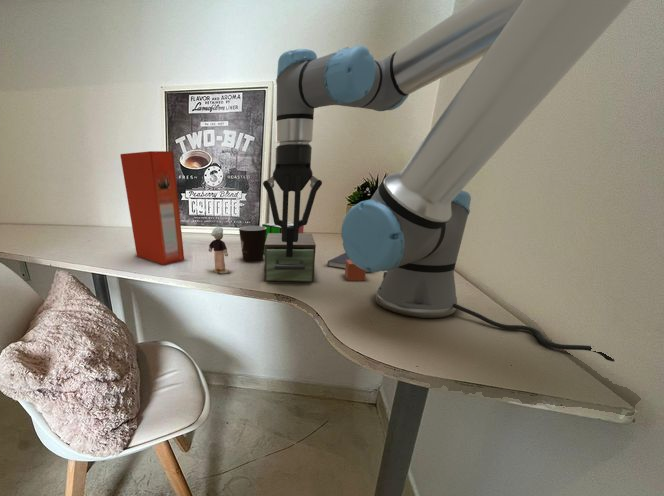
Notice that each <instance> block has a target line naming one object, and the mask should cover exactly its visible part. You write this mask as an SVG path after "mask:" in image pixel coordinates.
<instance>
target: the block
mask: <svg viewBox="0 0 664 496" xmlns="http://www.w3.org/2000/svg"><path fill="white" fill-rule="evenodd" d="M366 274H367V273H366V271H365V270H363V269H361V268H359V267H357V266H356V265H355V264H354V263H353V262H352V261H351V260H346V266H345V269H344V278H345V279H346V281H357V282H359V281H361V282H363V281H365V279H366Z"/></svg>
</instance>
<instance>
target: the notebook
mask: <svg viewBox="0 0 664 496" xmlns="http://www.w3.org/2000/svg"><path fill="white" fill-rule="evenodd" d="M346 260H350V259H349V258H348V256H347V254H346V252H343V253H342V254H340V255H338V256H335V257H333V258H331V259H329V260H327V267H332V268H338V269H342V270H343V269H344V270H345V266H346ZM367 273H368V274H371V273H372V272H369V271H366V273H365V274H367Z"/></svg>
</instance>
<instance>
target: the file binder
mask: <svg viewBox="0 0 664 496" xmlns="http://www.w3.org/2000/svg"><path fill="white" fill-rule="evenodd" d="M119 156H120V161H121V168H122V173H123V174H122V175H123V180H124V186H125V191H126V198H127V199H126V200H127V204H128V210H129V211H128V212H129V216H130V223H131V229H132V235H133V241H134V247H135V253H136V256H137V257H138V258H142V259H145V260H147V261H151V262H153V263H156V264H159V265H163V266H166V265H167V266H168V265H170V264H174V263H175V264H176V263H178V262H183V261H184V260H185V254H184V243H183V242H184V241H183V235H182V225H181V215H180V206H179V195H178V187H177V177H176V167H175V166H176V165H175V158H174V151H173V150H171V151H169V150H168V151H167V150H166V151H165V150H161V151H160V150H159V151H156V150H152V151H151V150H150V151H142V152H141V151H139V152H127V153H121V154H119Z"/></svg>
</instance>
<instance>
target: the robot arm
mask: <svg viewBox="0 0 664 496" xmlns="http://www.w3.org/2000/svg"><path fill="white" fill-rule="evenodd" d="M632 2H633V0H472V1H471V2H469V3H468V4H467V5H464V6H463V7H462V8H460V9H459V10H457V11H456V12H454V13H452V14H451V15H449V16H448V17H447V18H445V19H443V20H442V21H440V22H438V23H437V24H436V25H434V26H433V27H431V28H430V29H428V30H427V31H425V32H424V33H422V34H420V35H419V36H417V37H416V38H414V39H413V40H412V41H410V42H408V43H407V44H404V46H402V47H401V48H399V49H397V50H396V51H395V52H393V53H391V54H389V55H388V56H386V57H385V58H383V59H381V60H375V58H374V56H373V54H371V53H370V50H369V48H368V47H366V46H363V45H356V46H351V47H343V48H342V49H339V50H337V51H334V52H332V53H329V54H326V55H324V56H321V57H318V56H317V55H318V54H317V53H316V52H315V51H314V50H311V49H308V48H296V49H293V50H292V49H290V50H287V51H285V52H282V53H281V55H280V56H279V58H278V61H277V72H276V73H277V74H276V79H275V83H276V118H275V120H276V121H275V142H276V143H277V144H278V145H277V146H276V147H275V155H274V156H275V160H274V170H273V172H272V176H271V177H269V178H268V179H265V180H264V181H263V182H262V185H263V187H264V189H265V191H266V192H267V197H268V201H269V207H270V210H271V215H272V220H273V223H274V224H275V225H278V226H280V227H281V228H282V242H287V243H286V257H292V255H293V242H297V241H298V233H299V228H300V227H301V226H303V225H304V226H307V224H308V222H309V218H310V215H311V212H312V208H313V205H314V201H315V198H316V195H317V192H318V190H319V189H320V188H321V186H322V185H323V181H322V180H321V179H319V178H317V177H315V176H314V175H313V174H314V173H313V170H312V166H311V165H312V150H313V149H312V148H313V147H312V146H311V144H310V143H311V142H312V141H313V131H314V118H315V117H314V115H315V114H314V113H315V109H319V108H322V107H323V108H324V107H328V106H329V107H330V106H341V107H349V108H358V109H366V110H372V111H376V112H385V111H393V110H396V109H398V108H400V107H401V106H402V104H404V103H405V102H406V100H407V99H408V97H409V95H410V94H413V93H415V92H416V91H418V90H420V89H422V88H424V87H426V86H428V85H430V84H432V83H434V82H436V81H438V80H439V79H443V78H444V77H446V76H448V75H449V74H452V73H454V72H455V71H458V70H459V69H461V68H463V67H465V66H467V65H469V64H471V63H473V62H474V61H476V60H479V59H480V58H481V59H480V61H478V63H477V65H476V66H475V67H474V69H473V70H472V71H471V73H470V75H469V76H468V78H467V79H466V80H465V81H464V83H463V84H462V85H461V88H459V90H458V91H457V93H455V96H454V97H453V99H452V100H451V101H450V103H449V104H448V105H447V107H446V108H445V110H444V111H443V112H442V114H441V115H440V116H439V118H438V119H437V121H436V122H435V124H434V125H433V126H432V128H431V129H430V130H429V132H428V133H427V135H426V136H425V138H424V139H423V141H422V142H421V143H420V145H419V146H418V147H417V149H416V150H415V151H414V153H413V155H411V158H410V159H408V161H407V163H406V164H405V165H404V167H403V169H401V170H400V171H396V172H394V173H389V174H387V175H386V176H385V177H384V179H382V181H381V183H380V184H379V186H378V187H377V189H376V190H375V192H374V193H373V195H372V196H371V198H370V199H365V200H362V201H359V202H358V203H356V204H355V205H353V206H352V207H351V208H350V209H349V210H348V211H347V213H346V214H345V216H344V218H343V220H342V225H341V228H340V229H341V230H340V236H341V239H342V248H343V251H344V253H346V254H347V256H348V258H349V259H350V260H351V261H352V262H353V263H354V264H355V265H356V266H357V267H359V268H361V269H363V270H365V271H369V272H371V273H378V272H383V275H382V276H383V277H382V278H383V279H382V280H381V282H380V285H379V286H378V288H377V290H376V294H375V302H376V303H377V304H378V306H380V307H382V308H384V309H385V310H387V311H389V312H393V313H395V314H399V315H402V316H403V315H404V316H407V317H413V318H421V319H436V318H437V319H439V318H444V317H447V316H448V317H449V316H451V315H452V314H454V313H455V312H456V310H459V311H461V312H463V313H466V314H468V315H471V316H472V317H475V318H477V319H479V320H481V321H483V322H485V323H487V324H489V325H492V326H494V327H497V328H500V329H504V330H523V331H528V332H530V333H532V334H534V336H535V338H537V340H538V341H539V343H541V344H543V345H544V346H547V347H550V348H553V349H558V350H567V351H568V350H569V351H588V352H593V353H596V354H598V355H599V356H602V357H603V358H604V359H605V360H606V361H609V362H615V361H616V360H615V358H613V359H612V358H611V357H609V356H607V355H606V354H604V353H602V352H596V351H591V349H592V348H591V345H584V344H560V343H556V342H552V341H550V340H547V339H546V338H545V337H544V336H543V334H542V333H541V332H540V331H539V330H538V329H536V328H534V327H531V326H527V325H521V324H505V323H500V322H497V321H495V320H493V319H490V318H488V317H486V316H484V315H483V314H481V313H478V312H475V311H473V310H471V309H469V308H466V307H464V306H461V305H460V304H458V298H457V290H456V289H457V288H456V281H455V268H456V265H457V261H458V257H459V253H460V248H461V244H462V240H463V236H464V233H465V228H466V224H467V221H468V218H469V217H468V216H469V215H470V213H471V211H470V210H471V209H470V207H471V201H472V198H471V194H470V193H469V192H468V191H465V190H463V189H464V188H465V187H467V185H468V184H469V183H470V182H471V180H473V178H474V177H475V176H476V175H477V174H478V173H479V172H480V171H481V169H482V168H483V167H484V166H485V165H486V164H487V163H488V162H489V160H491V158H492V157H493V156H494V155H495V154H496V153H497V152H498V151H499V149H500V148H501V147H502V146H503V145H504V144H505V143H506V142H507V141H508V140H509V138H510V137H511V136H512V135H513V134H514V133H515V132H516V131H517V130H518V128H519V127H520V126H521V125H522V124H523V123H524V122H525V120H526V119H527V118H528V117H529V116H530V115H531V114H532V113H533V111H535V109H536V108H537V107H538V106H539V105H540V104H541V103H542V102H543V100H545V98H546V97H547V96H548V95H549V94H550V93H551V92H552V90H553V89H554V88H555V87H556V86H558V84H559V83H560V81H562V79H564V78H565V76H566V75H567V74H568V73H569V72H570V71H571V70H572V68H573V67H575V65H576V64H577V63H578V62H579V60H581V58H582V57H583V56H584V55H585V54H586V53H587V52H588V50H589V49H591V47H592V46H593V45H594V44H595V43H596V42H597V40H599V38H601V36H602V35H603V34H604V33H605V32H606V31H607V29H608V28H609V27H611V25H612V24H613V23H614V21H616V19H617V18H618V17H619V16H620V15H621V14H622V13H623V12H624V11H625V10H626V9H627V8H628V6H629V5H630V4H631V3H632ZM275 182H276V184H277V186H278V187H279V189H280V191H282V214H281V215H282V216H281V219H280V215H279V210H278V205H277V199H276V196H275V192H274V187H275ZM309 182H310V183H309ZM308 183H309V187H310V190H309V193H308V197H307V199H306V204H305V207H304V210H303V214H302V217H301V219H300V213H301V193H302V191H303V190H304V189H305V187H306V186H307V184H308ZM290 192H294V203H293V222H292V223H293V227H287V223H288V222H289V221H288V219H289V218H288V217H289V193H290Z"/></svg>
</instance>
